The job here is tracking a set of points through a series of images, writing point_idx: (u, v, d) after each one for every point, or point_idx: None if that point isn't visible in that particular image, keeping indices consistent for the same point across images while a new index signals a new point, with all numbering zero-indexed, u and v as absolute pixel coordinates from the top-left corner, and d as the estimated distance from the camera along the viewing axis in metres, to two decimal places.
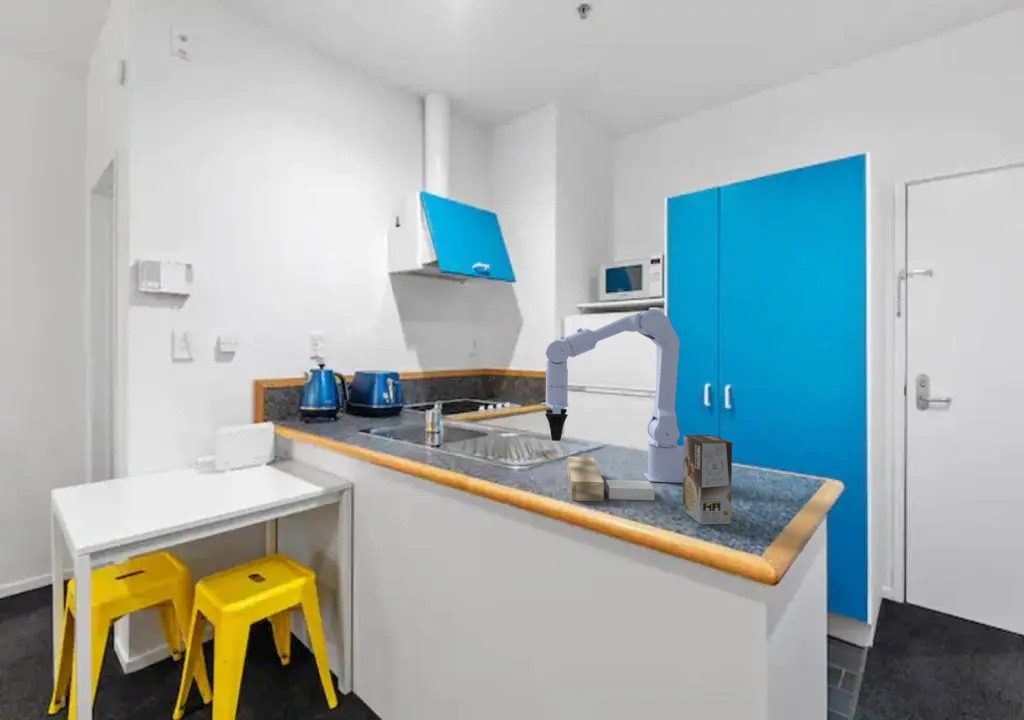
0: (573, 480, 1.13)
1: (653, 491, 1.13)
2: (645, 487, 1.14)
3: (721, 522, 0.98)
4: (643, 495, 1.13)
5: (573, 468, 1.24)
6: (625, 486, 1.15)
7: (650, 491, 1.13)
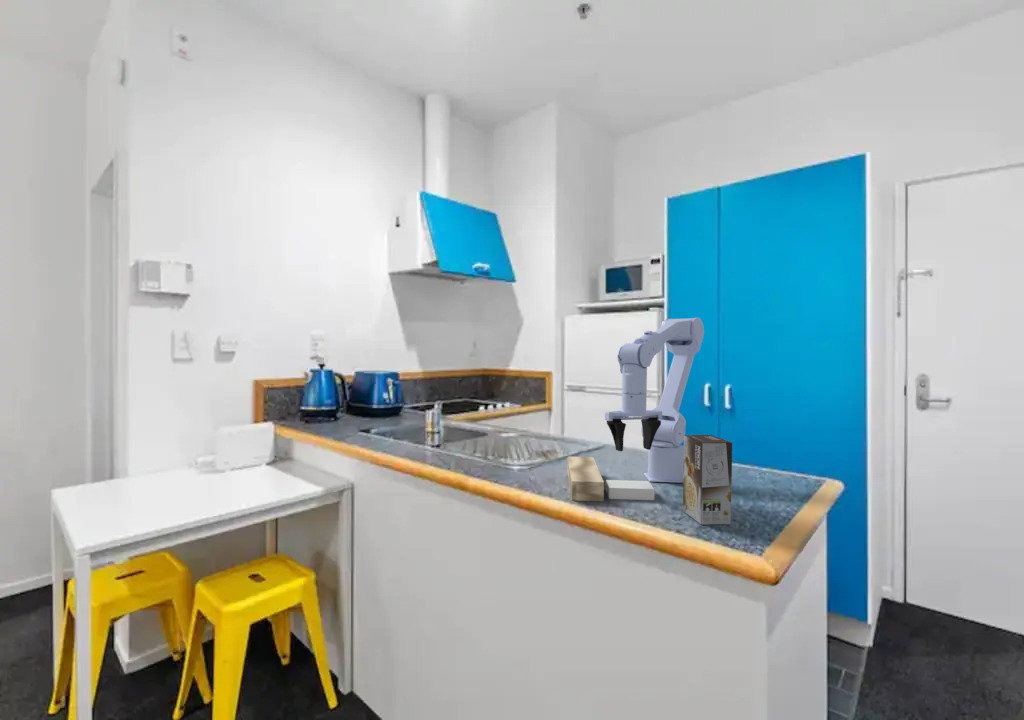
0: (573, 480, 1.13)
1: (653, 491, 1.13)
2: (645, 487, 1.14)
3: (721, 522, 0.98)
4: (643, 495, 1.13)
5: (573, 468, 1.24)
6: (625, 486, 1.15)
7: (650, 491, 1.13)
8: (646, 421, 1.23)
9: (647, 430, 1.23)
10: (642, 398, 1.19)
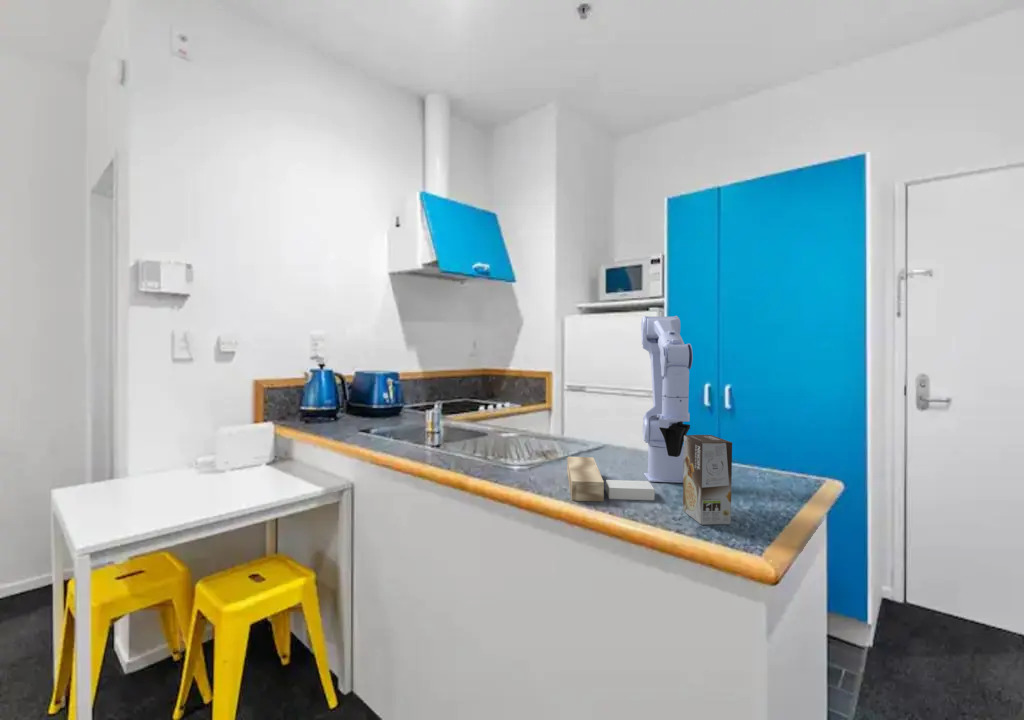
0: (573, 480, 1.13)
1: (653, 491, 1.13)
2: (645, 487, 1.14)
3: (721, 522, 0.98)
4: (643, 495, 1.13)
5: (573, 468, 1.24)
6: (625, 486, 1.15)
7: (650, 491, 1.13)
8: None
9: None
10: None
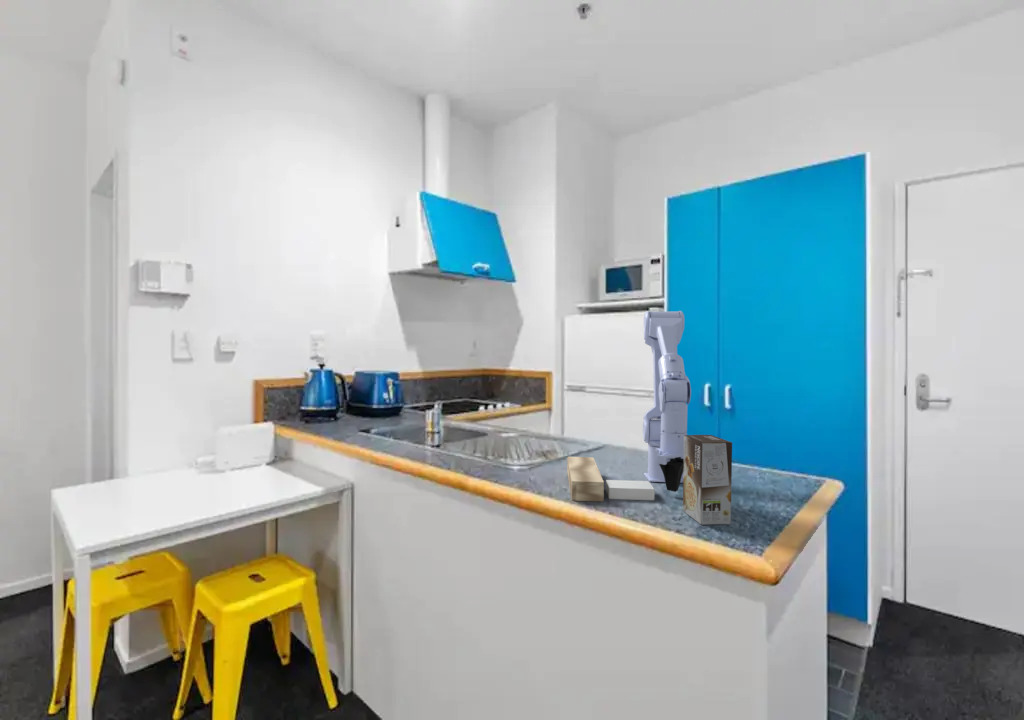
0: (573, 480, 1.13)
1: (653, 491, 1.13)
2: (645, 487, 1.14)
3: (721, 522, 0.98)
4: (643, 495, 1.13)
5: (573, 468, 1.24)
6: (625, 486, 1.15)
7: (650, 491, 1.13)
8: None
9: None
10: None
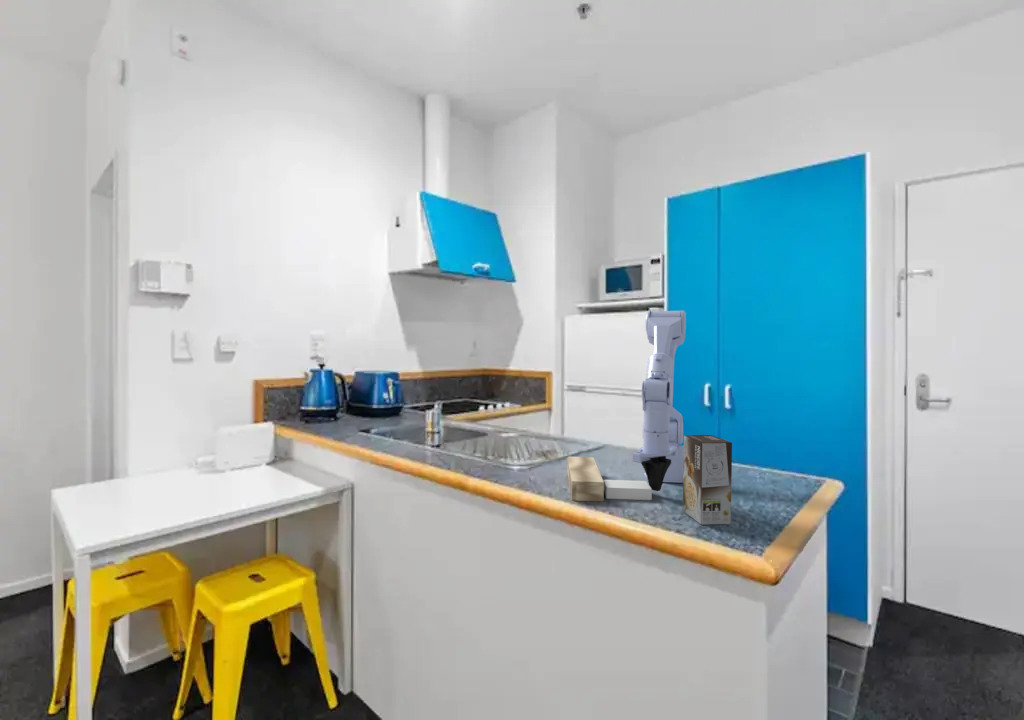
0: (573, 480, 1.13)
1: (651, 491, 1.13)
2: (642, 487, 1.15)
3: (721, 522, 0.98)
4: (640, 495, 1.13)
5: (573, 468, 1.24)
6: (622, 486, 1.15)
7: (647, 491, 1.13)
8: None
9: None
10: (667, 436, 1.14)
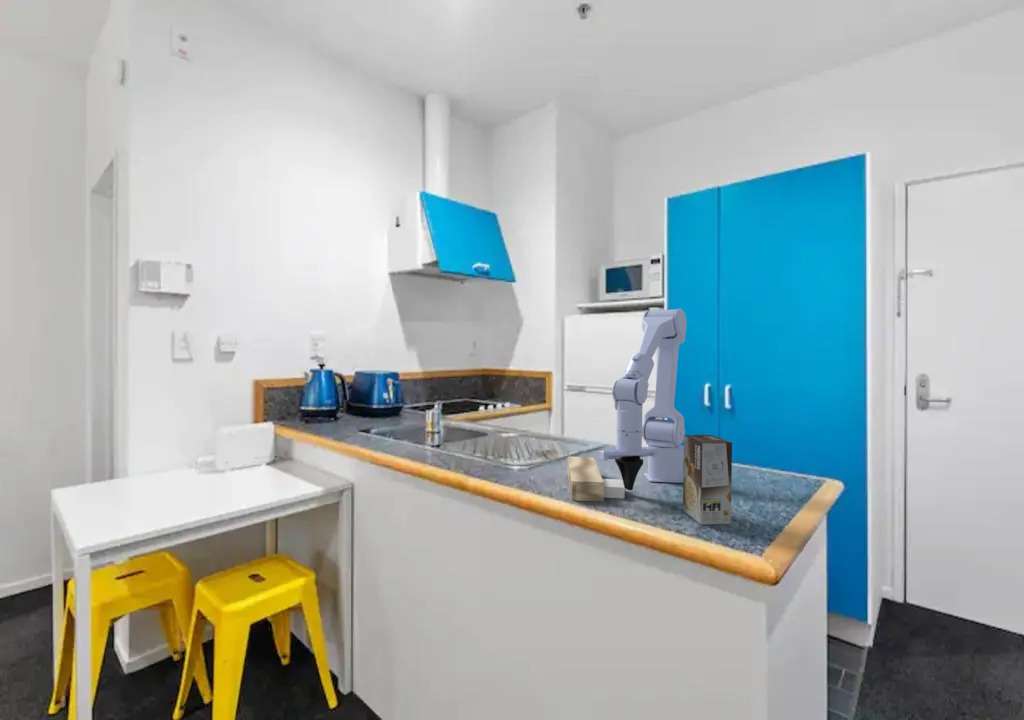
0: (573, 480, 1.13)
1: (623, 490, 1.14)
2: (616, 485, 1.16)
3: (721, 522, 0.98)
4: (613, 493, 1.15)
5: (573, 468, 1.24)
6: None
7: (620, 489, 1.14)
8: None
9: None
10: (638, 436, 1.14)
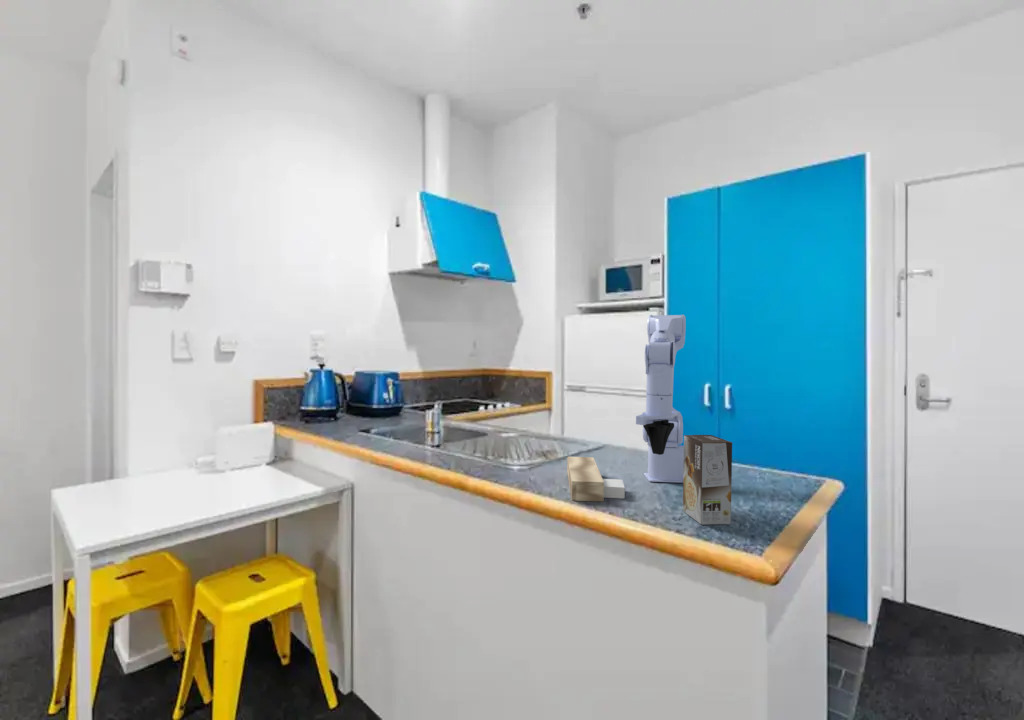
0: (573, 480, 1.13)
1: (623, 490, 1.14)
2: (616, 485, 1.16)
3: (721, 522, 0.98)
4: (613, 493, 1.15)
5: (573, 468, 1.24)
6: None
7: (620, 489, 1.14)
8: None
9: None
10: (671, 399, 1.14)
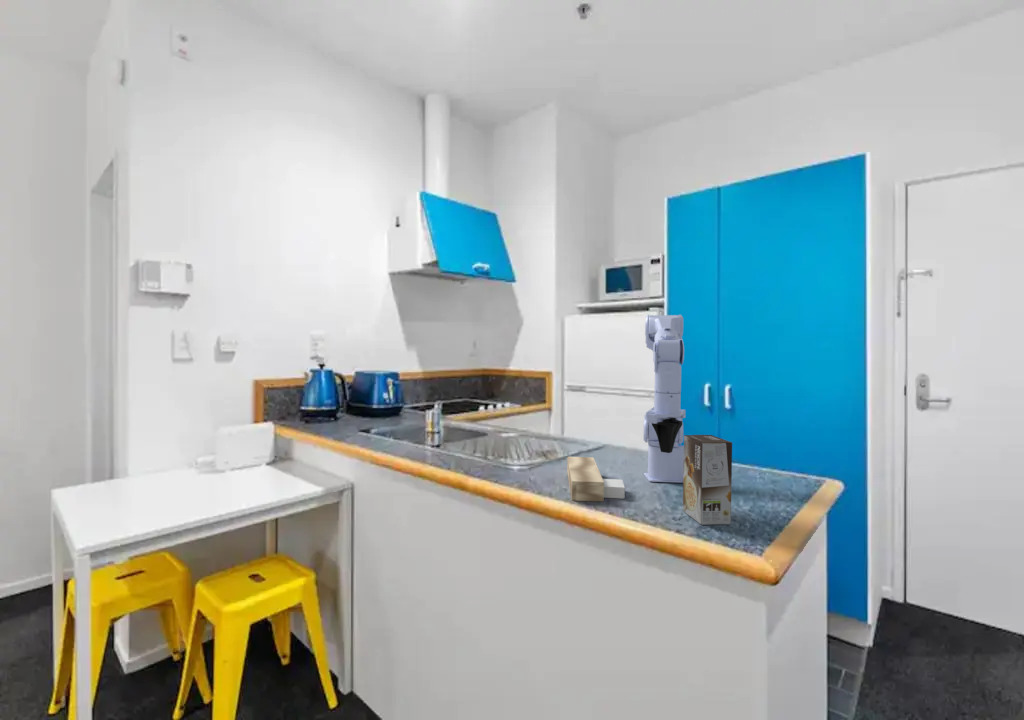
0: (573, 480, 1.13)
1: (623, 490, 1.14)
2: (616, 485, 1.16)
3: (721, 522, 0.98)
4: (613, 493, 1.15)
5: (573, 468, 1.24)
6: None
7: (620, 489, 1.14)
8: None
9: None
10: (680, 397, 1.13)
